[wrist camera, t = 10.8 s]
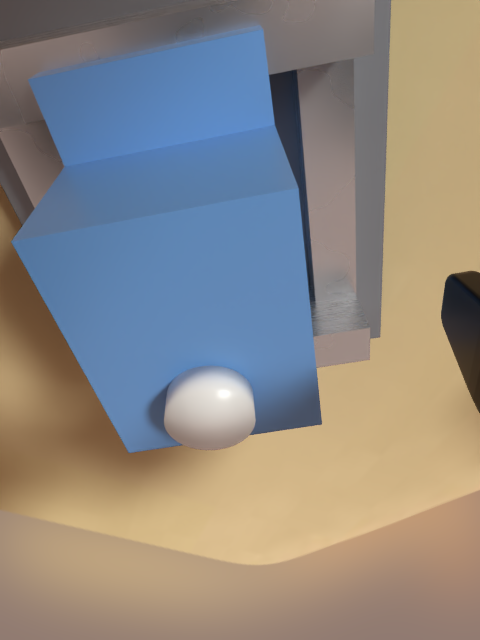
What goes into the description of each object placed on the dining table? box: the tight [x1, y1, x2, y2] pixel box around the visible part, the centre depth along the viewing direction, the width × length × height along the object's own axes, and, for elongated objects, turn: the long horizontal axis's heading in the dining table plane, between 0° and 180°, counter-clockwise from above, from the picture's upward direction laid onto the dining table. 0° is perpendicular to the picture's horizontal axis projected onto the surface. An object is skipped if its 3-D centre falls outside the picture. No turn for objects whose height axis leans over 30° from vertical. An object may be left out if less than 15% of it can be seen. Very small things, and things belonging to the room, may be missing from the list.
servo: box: [11, 25, 322, 453], centre depth 10 cm, size 4×8×7 cm, turn 10°
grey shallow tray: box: [0, 0, 391, 368], centre depth 12 cm, size 10×12×4 cm
